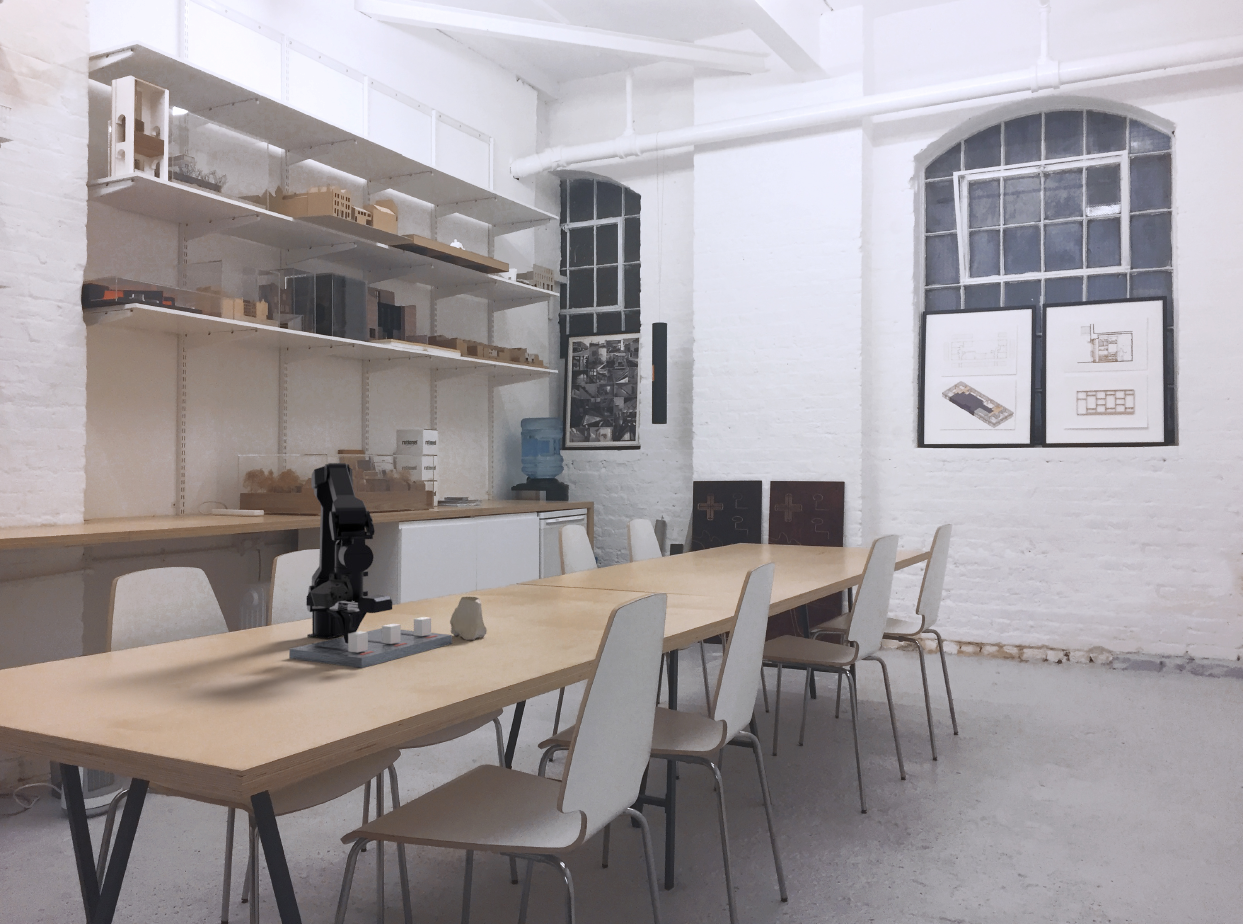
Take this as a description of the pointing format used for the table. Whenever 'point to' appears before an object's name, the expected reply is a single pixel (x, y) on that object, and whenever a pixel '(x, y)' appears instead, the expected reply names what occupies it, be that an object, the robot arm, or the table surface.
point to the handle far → (422, 626)
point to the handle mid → (391, 633)
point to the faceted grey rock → (468, 619)
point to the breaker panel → (369, 649)
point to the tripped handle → (357, 641)
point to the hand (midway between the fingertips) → (348, 643)
